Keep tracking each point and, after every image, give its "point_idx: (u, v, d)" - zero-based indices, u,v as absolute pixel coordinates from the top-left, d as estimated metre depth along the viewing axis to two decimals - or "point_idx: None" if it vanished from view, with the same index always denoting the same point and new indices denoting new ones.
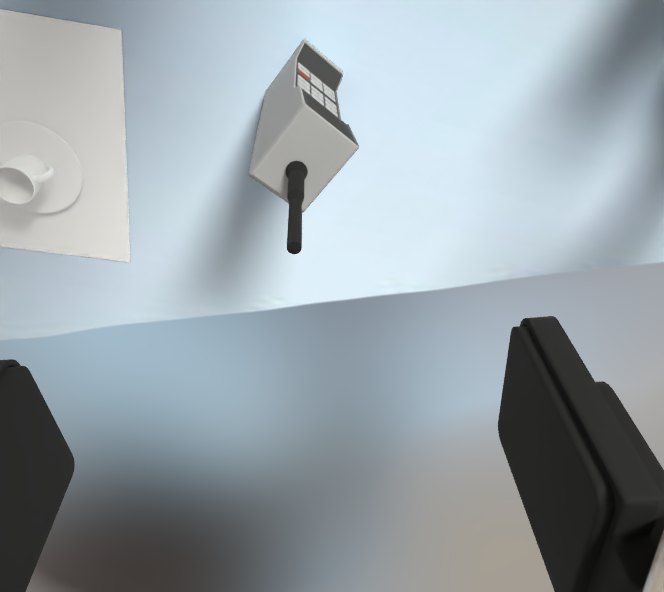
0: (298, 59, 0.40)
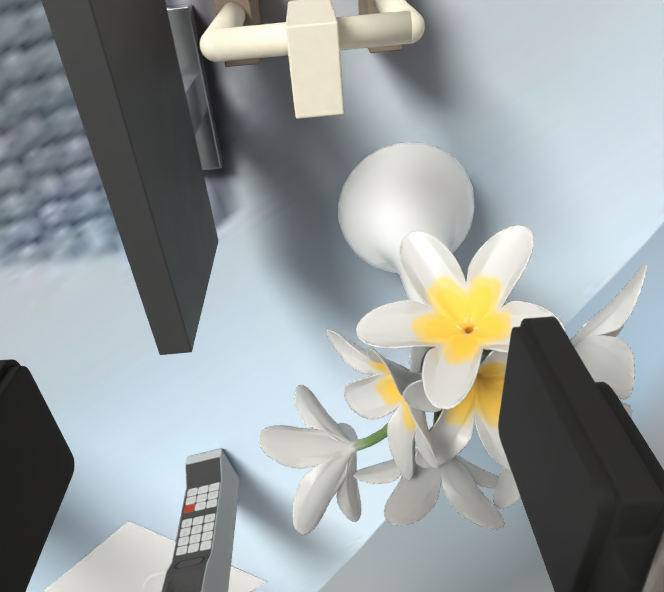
0: (188, 485, 0.55)
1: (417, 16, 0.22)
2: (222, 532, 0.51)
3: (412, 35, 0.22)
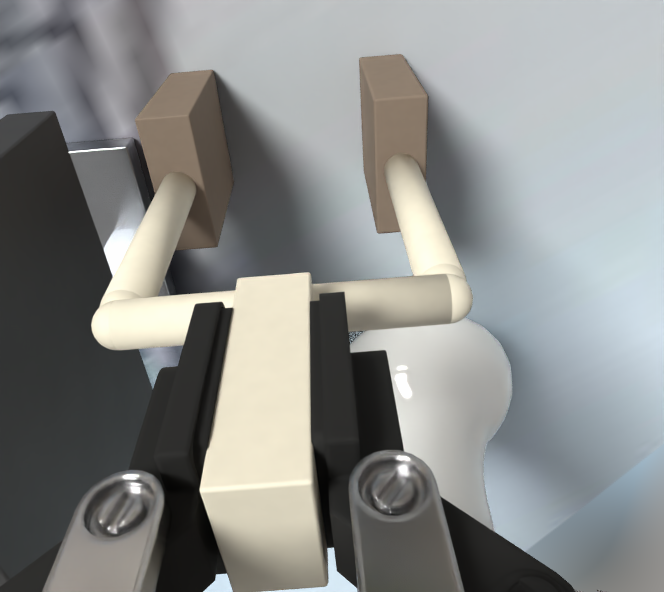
0: None
1: (461, 291, 0.13)
2: None
3: (452, 319, 0.13)
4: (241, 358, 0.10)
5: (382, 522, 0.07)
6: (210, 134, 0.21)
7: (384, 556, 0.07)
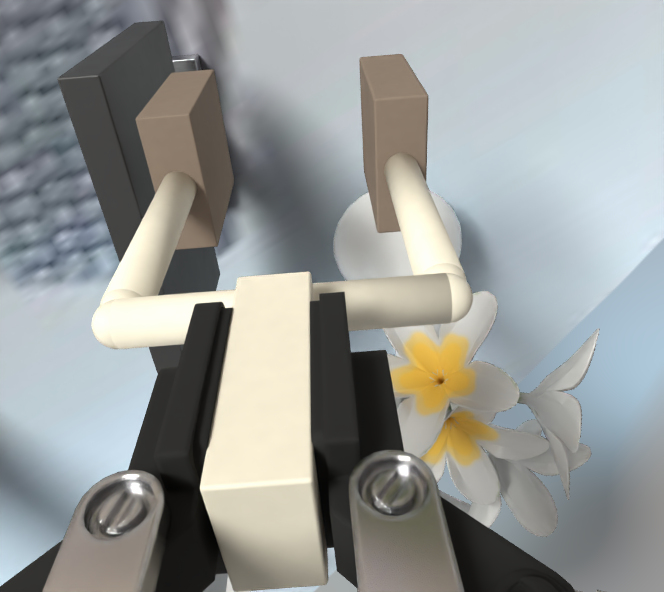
0: None
1: (461, 290, 0.13)
2: None
3: (452, 318, 0.13)
4: (241, 357, 0.10)
5: (382, 522, 0.07)
6: (210, 133, 0.22)
7: (384, 556, 0.07)
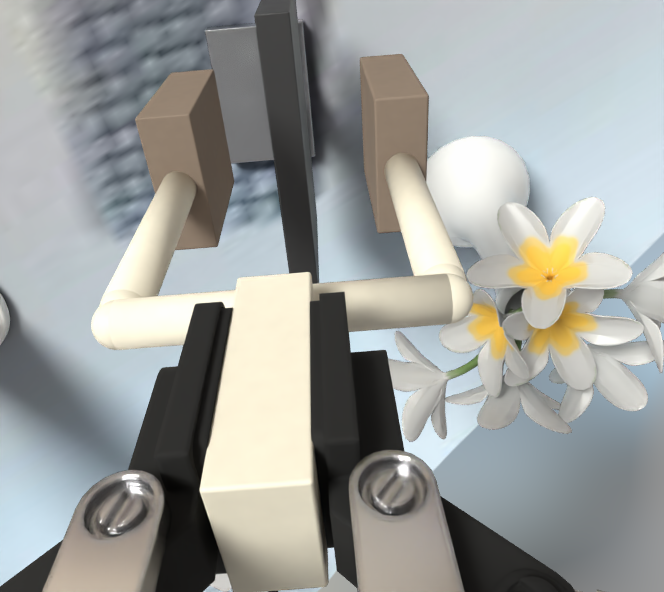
0: None
1: (462, 291, 0.13)
2: None
3: (452, 319, 0.13)
4: (241, 358, 0.10)
5: (382, 522, 0.07)
6: (210, 133, 0.21)
7: (384, 556, 0.07)
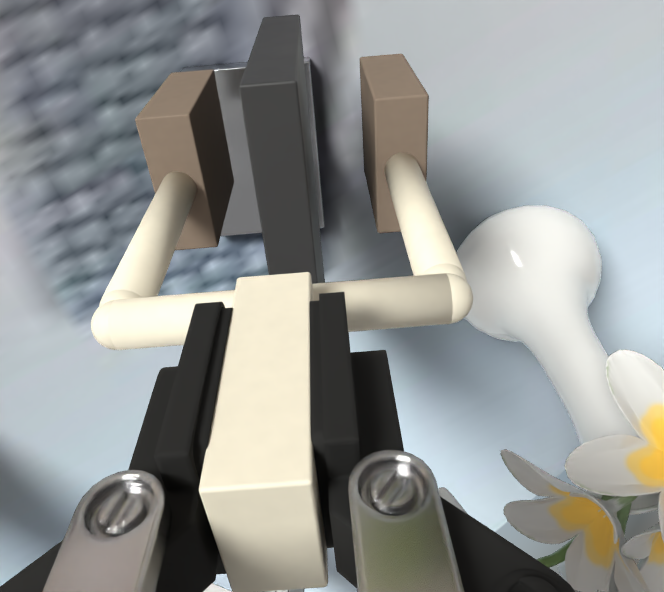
0: None
1: (461, 291, 0.13)
2: None
3: (452, 318, 0.13)
4: (241, 358, 0.10)
5: (382, 522, 0.07)
6: (210, 134, 0.21)
7: (384, 556, 0.07)
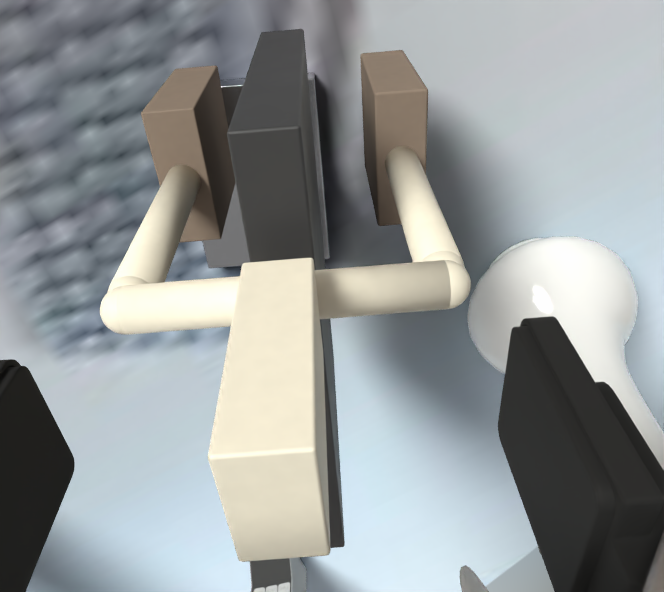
0: (253, 583, 0.49)
1: (459, 276, 0.13)
2: None
3: (450, 304, 0.13)
4: (246, 337, 0.10)
5: None
6: (214, 128, 0.22)
7: None
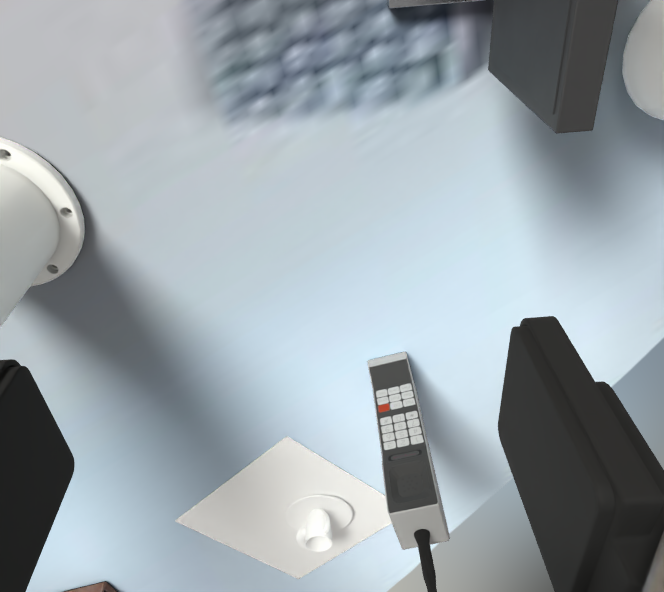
0: (374, 387, 0.52)
1: None
2: (424, 430, 0.48)
3: None
4: None
5: None
6: None
7: None
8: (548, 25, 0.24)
